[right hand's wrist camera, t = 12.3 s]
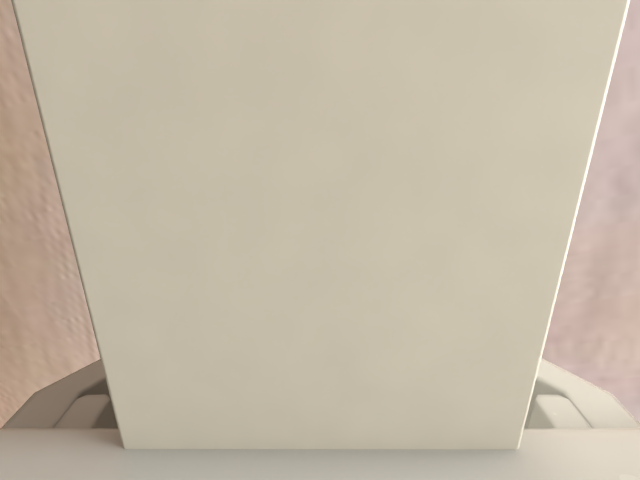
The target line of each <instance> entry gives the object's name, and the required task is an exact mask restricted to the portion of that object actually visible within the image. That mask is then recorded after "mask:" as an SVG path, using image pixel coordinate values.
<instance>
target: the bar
mask: <svg viewBox="0 0 640 480" xmlns="http://www.w3.org/2000/svg"><path fill="white" fill-rule="evenodd" d="M11 1H12V5H13V9H14V13H15V17H16V21H17V25H18V29H19V33H20V37H21V41H22V45H23V49H24V53H25V57H26V61H27V65H28V69H29V73H30V77H31V81H32V85H33V89H34V93H35V97H36V101H37V105H38V109H39V113H40V117H41V121H42V125H43V129H44V133H45V137H46V141H47V145H48V149H49V153H50V157H51V161H52V165H53V169H54V173H55V177H56V181H57V185H58V189H59V193H60V197H61V201H62V205H63V209H64V213H65V217H66V221H67V225H68V229H69V233H70V237H71V241H72V245H73V249H74V253H75V257H76V261H77V265H78V270H79V274H80V278H81V282H82V286H83V290H84V294H85V298H86V302H87V306H88V310H89V314H90V318H91V322H92V326H93V330H94V334H95V338H96V342H97V346H98V350H99V354H100V358H101V362H102V366H103V370H104V374H105V378H106V382H107V386H108V390H109V394H110V398H111V402H112V406H113V410H114V414H115V418H116V422H117V426H118V430H119V434H120V438H121V442H122V446H123V448H124V449H419V450H517V449H519V445H520V441H521V437H522V433H523V429H524V425H525V421H526V417H527V413H528V409H529V405H530V401H531V397H532V393H533V389H534V385H535V381H536V377H537V373H538V369H539V365H540V361H541V357H542V353H543V349H544V345H545V341H546V337H547V333H548V329H549V325H550V321H551V317H552V313H553V309H554V305H555V301H556V297H557V293H558V289H559V285H560V281H561V277H562V273H563V269H564V264H565V260H566V256H567V252H568V248H569V244H570V240H571V236H572V232H573V228H574V224H575V220H576V216H577V212H578V208H579V204H580V200H581V196H582V192H583V188H584V184H585V180H586V176H587V172H588V168H589V164H590V160H591V156H592V152H593V148H594V144H595V140H596V136H597V132H598V128H599V124H600V120H601V116H602V112H603V108H604V104H605V100H606V96H607V92H608V88H609V83H610V79H611V75H612V71H613V67H614V63H615V59H616V55H617V51H618V47H619V43H620V39H621V35H622V31H623V27H624V23H625V19H626V15H627V11H628V7H629V3H630V0H11Z"/></svg>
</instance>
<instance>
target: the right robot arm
mask: <svg viewBox="0 0 640 480" xmlns="http://www.w3.org/2000/svg"><path fill="white" fill-rule="evenodd" d="M0 480H640V423H639V422H638V421H637V420H636V419H635V418H634V417H633V416H632V415H631V414H630V412H629V411H628V410H627V409H626V408H625V407H624V406H623V405H622V404H621V403H620V402H619V401H618V400H617V399H616V398H615V397H614V396H613V395H612V394H611V393H609V392H607V391H605V390H603V389H601V388H599V387H597V386H596V385H594V384H592V383H590V382H588V381H586V380H584V379H582V378H580V377H578V376H576V375H574V374H572V373H570V372H568V371H566V370H564V369H562V368H560V367H558V366H556V365H554V364H552V363H550V362H548V361H546V360H544V359H543V358H541V361H540V365H539V369H538V373H537V377H536V381H535V385H534V389H533V393H532V397H531V401H530V405H529V409H528V413H527V417H526V421H525V425H524V429H523V433H522V437H521V441H520V445H519V449H517V450H419V449H124V448H123V446H122V442H121V438H120V434H119V430H118V426H117V422H116V418H115V414H114V410H113V406H112V402H111V398H110V394H109V390H108V386H107V382H106V378H105V374H104V370H103V366H102V362H101V359H100V360H98V361H96V362H94V363H92V364H90V365H88V366H86V367H84V368H82V369H80V370H78V371H76V372H74V373H73V374H71V375H69V376H67V377H65V378H63V379H61V380H59V381H57V382H55V383H53V384H51V385H49V386H47V387H45V388H43V389H41V390H39V391H37V392H35V393H34V394H33V395H32V396H31V397H30V398H29V399H28V400H27V401H26V402H25V404H24V405H23V406H22V407H21V408H20V409H19V410H18V411H17V412H16V413H15V414H14V415H13V416H12V417H11V418H10V419H9V420H8V422H7V423H6V424H5V425H4V426H3V427H2V428H0Z"/></svg>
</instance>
